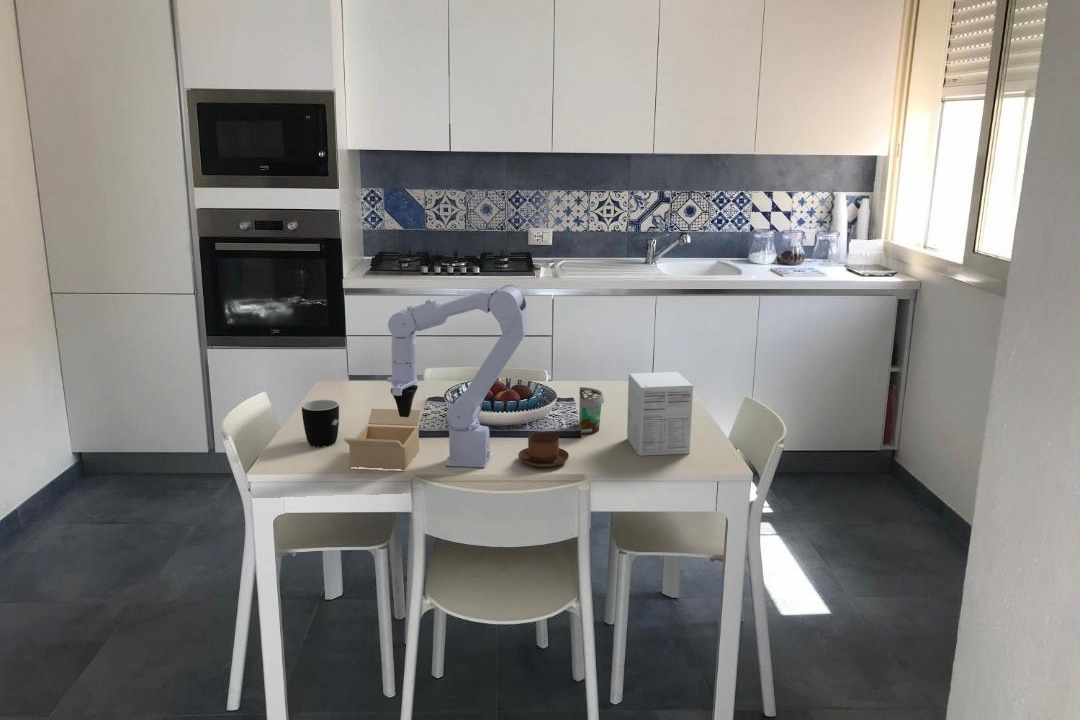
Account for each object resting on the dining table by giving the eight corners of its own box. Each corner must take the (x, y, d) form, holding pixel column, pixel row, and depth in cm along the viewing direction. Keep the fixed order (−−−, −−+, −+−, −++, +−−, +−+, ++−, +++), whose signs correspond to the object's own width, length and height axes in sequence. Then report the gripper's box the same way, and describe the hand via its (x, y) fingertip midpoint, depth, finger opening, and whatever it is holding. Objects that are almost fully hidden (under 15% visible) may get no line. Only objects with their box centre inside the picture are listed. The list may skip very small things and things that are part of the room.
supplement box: (691, 454, 220) (694, 385, 216) (638, 456, 218) (640, 387, 214) (675, 436, 233) (678, 371, 229) (625, 438, 231) (627, 372, 227)
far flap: (417, 424, 220) (417, 426, 221) (420, 410, 223) (421, 411, 224) (368, 423, 222) (368, 424, 222) (371, 408, 224) (372, 409, 225)
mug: (336, 449, 222) (334, 410, 220) (300, 449, 222) (297, 410, 219) (346, 433, 234) (344, 396, 231) (311, 433, 234) (309, 396, 231)
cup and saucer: (507, 461, 215) (507, 437, 213) (543, 449, 223) (543, 426, 222) (543, 475, 207) (543, 450, 205) (579, 462, 215) (579, 438, 213)
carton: (419, 450, 222) (418, 427, 220) (405, 471, 208) (404, 446, 207) (367, 448, 223) (366, 425, 221) (350, 469, 209) (349, 444, 208)
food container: (605, 437, 232) (606, 400, 229) (581, 437, 232) (581, 400, 229) (601, 422, 244) (602, 386, 241) (578, 422, 244) (579, 386, 241)
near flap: (398, 440, 202) (398, 442, 202) (402, 445, 206) (402, 447, 206) (344, 437, 203) (344, 440, 203) (349, 443, 207) (349, 445, 207)
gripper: (395, 352, 218) (395, 406, 222) (379, 368, 204) (379, 424, 208) (423, 354, 218) (424, 407, 221) (409, 369, 204) (409, 426, 207)
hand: (404, 416), depth 214 cm, fingers closed
